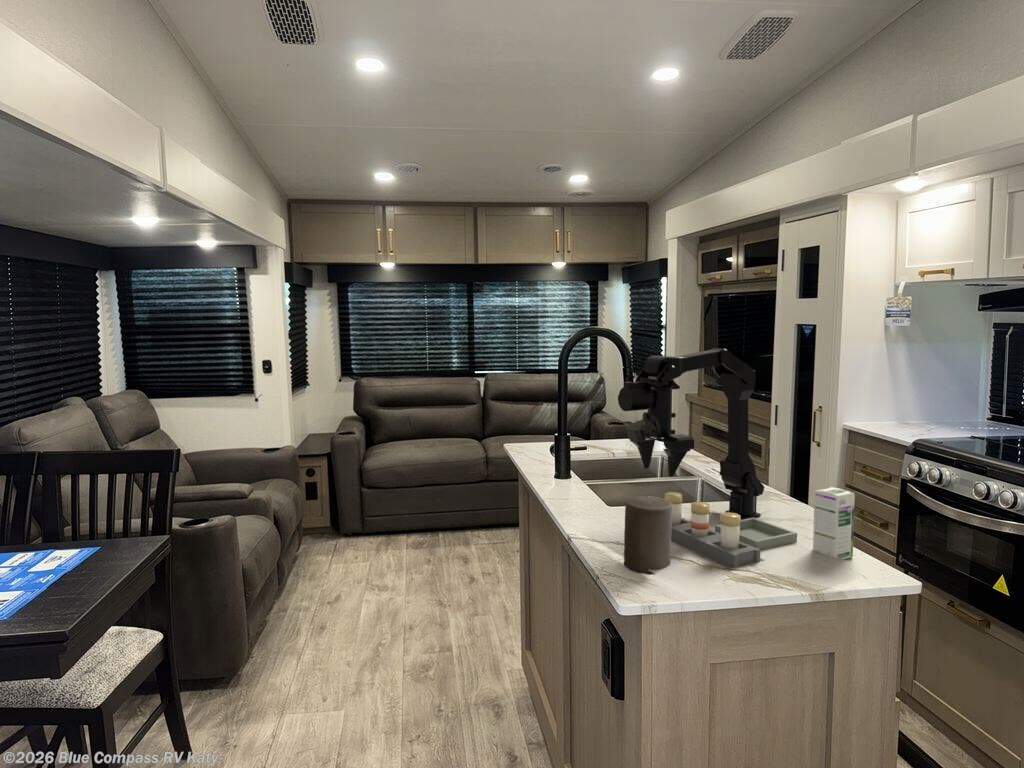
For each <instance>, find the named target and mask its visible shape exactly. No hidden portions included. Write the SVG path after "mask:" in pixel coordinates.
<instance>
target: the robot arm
mask: <svg viewBox="0 0 1024 768" xmlns="http://www.w3.org/2000/svg"><path fill="white" fill-rule="evenodd" d="M710 367H712V370H713V372H714V374H715V375H716V376H717V377H719V378H720V385H721V390H722V393H724V395H725V397H726V398H727V399H726V400H727V441H728V442H727V445H728V447H727V449H728V451H727V455H726V456H725V458H724V460H723V459H721V460H720V461H719V467H720V468H719V470H720V471H719V473H718V475H719V476H721V481H722V482H723V486H724V489H725V490H729V491H730V497H729V507H728V510H725V512H730V513H736V514H739V515H740V520H744V519H749V518H757V517H761V516H762V513H760V512H757V499H758V498H757V497H759V496H762V495H763V493H764V490H765V485H764V484H763V483H762V482H761V481H760V480H759V478H758V477H757V472H756V465H755V463H754V462H753V460H752V457H751V456H750V454H749V452H750V451H749V399H750V398H751V396H752V394H753V393H754V391H755V387H756V386H755V385H756V379H757V375H756V370H755V369H754V368H753V367H752V366H750V365H748V363H747V362H745V361H743V360H742V359H739V358H738V357H736V356H735V355H733V354H732V352H730V350H728V349H726V348H715V347H714V348H711V349H709V350H703V351H698V352H694V353H688V354H683V355H678V356H677V355H676V356H674V355H673V356H667V355H650V356H648V357H647V358H646V360H645V362H644V365H643V367H642V369H641V370H640V372H639V374H638V375H637V376H636V378H635V380H634V381H633V382H631V381H624V382H623V386H622V388H621V389H620V390H619V393H618V395H617V403H618V406H619V408H620V409H621V410H622V411H623V412H632V411H634V412H635V411H644V412H643V413H642V419H640V420H637V421H634V422H633V423H631V424H629V425H627V426H626V427H625V430H626V438H627V439H629V441H630V442H631V443H633V445H635V447H636V448H637V450H638V452H639V455H640V459H641V462H642V465H643V468H644V470H645V469H647V470H648V469H649V468H650V465H651V461H652V456H653V452H654V447H655V442H656V441H657V442H660V443H663V446H664V448H663V451H664V453H665V454H666V455H667V470H668V471H667V472H668V477H670V478H671V477H672V478H673V477H674V476H675V474H676V473H677V470H678V468H679V466H680V465H681V463H682V461H683V460H684V458H685V457H686V455H687V453H688V452H691V450H692V449H693V450H694V449H695V439H694V437H693V436H691V435H687V434H682V433H679V434H676V430H675V429H672V426H673V425H672V422H673V418H676V415H677V413H676V412H673V390H680V389H681V386H680V385H679V384H678V383H677V382H676V381H675V379H677V378H680V377H681V376H682V375H683V374H685V373H688V372H692V371H697V370H701V369H705V368H710ZM725 512H724V513H725Z"/></svg>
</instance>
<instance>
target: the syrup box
mask: <svg viewBox="0 0 1024 768" xmlns="http://www.w3.org/2000/svg"><path fill="white" fill-rule="evenodd" d="M813 493H814V494H813V495H814V496H813V498H814V499H813V530H812V533H813V536H812V538H813V539H812V550H813V551H815V552H818V553H821V554H824V555H827V556H828V557H831V558H834V559H837V558H839V559H841V560H847V559H850V558H851V559H852V558H853V557H854V532H855V531H854V529H855V526H854V525H855V497H856V496H855V494H856V493H855V492H852V491H850V490H847V489H843V488H839V487H834V486H831V487H828V488H824V489H817V490H814V491H813Z"/></svg>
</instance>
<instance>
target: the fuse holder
mask: <svg viewBox="0 0 1024 768" xmlns="http://www.w3.org/2000/svg"><path fill="white" fill-rule="evenodd" d="M720 535H721V533H718V532H716V531H715V530H713V529H710V528H709V536H705V537H700V538H699V537H696V536H694V535H692V534H691V520H688V519H686V518H683V517H681V524H679V525H674V526H672V530H671V543H673V544H675V545H678V547H679V546H680V547H682V548H683V549H686V550H688V551H690V552H692V553H695V554H697V555H699V556H701V557H704V558H705V559H708V560H709V561H712V562H714V563H715V564H718V565H720V566H722V567H724V568H727V569H729V570H731V569H735V568H740V567H743V566H747V565H751V564H756V563H760V562H764V561H765V559H763V558H761V550H760V549H757V548H755V547H753V546H750V545H748V544H745V543H743V542H740V541H739V549H736V550H732V551H729V550H726V549H724V548H722V547H720Z"/></svg>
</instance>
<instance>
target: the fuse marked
mask: <svg viewBox="0 0 1024 768" xmlns="http://www.w3.org/2000/svg"><path fill="white" fill-rule="evenodd" d="M710 507H711V505H710V503H708V502H703V501H693V502H691V503H690V512H691V518H690V521H691V534H692V535H694V536H696V537H699V538H700V537H705V536H709V529H710V511H711V510H710Z"/></svg>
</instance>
